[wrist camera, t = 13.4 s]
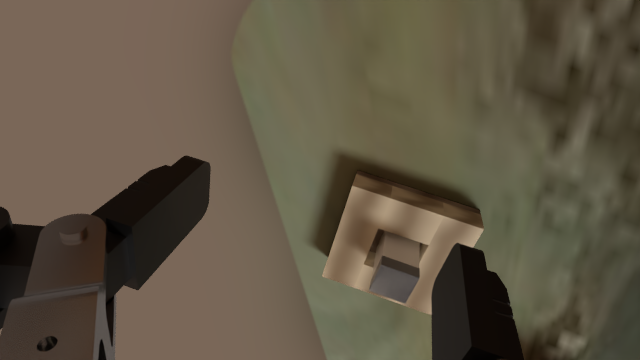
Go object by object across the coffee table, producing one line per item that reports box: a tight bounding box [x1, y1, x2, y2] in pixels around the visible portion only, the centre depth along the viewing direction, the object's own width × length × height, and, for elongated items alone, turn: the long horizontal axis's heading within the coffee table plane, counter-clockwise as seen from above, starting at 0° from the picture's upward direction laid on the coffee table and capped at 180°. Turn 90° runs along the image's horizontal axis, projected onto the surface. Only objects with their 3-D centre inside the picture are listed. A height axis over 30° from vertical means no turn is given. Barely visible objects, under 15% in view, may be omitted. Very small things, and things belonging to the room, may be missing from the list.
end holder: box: [322, 170, 484, 315], centre depth 49 cm, size 16×16×4 cm
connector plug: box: [369, 230, 420, 303], centre depth 47 cm, size 5×5×8 cm
